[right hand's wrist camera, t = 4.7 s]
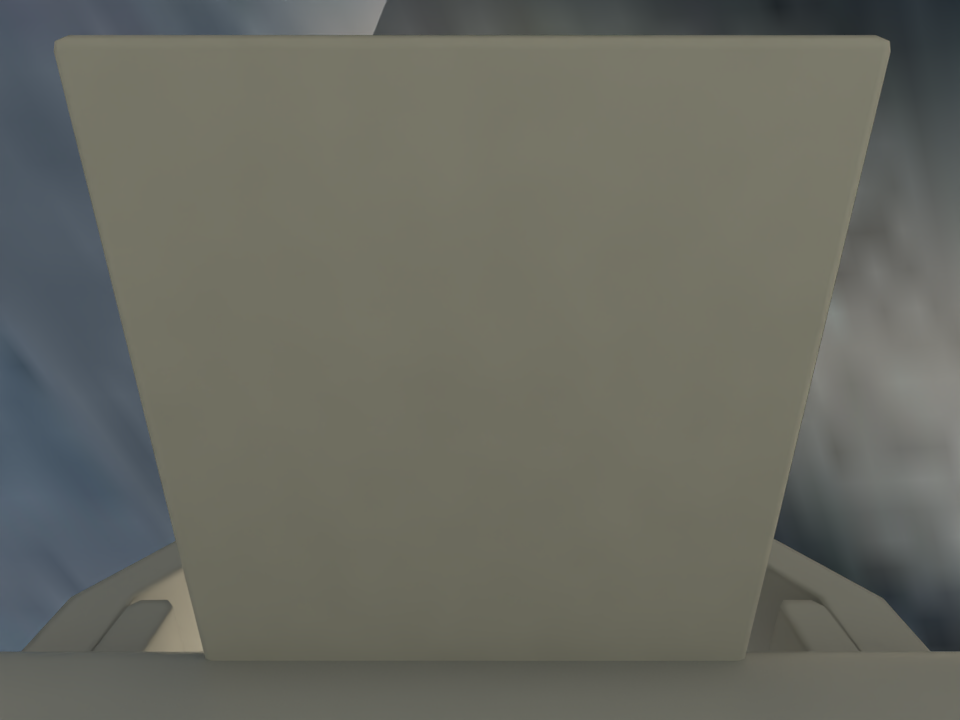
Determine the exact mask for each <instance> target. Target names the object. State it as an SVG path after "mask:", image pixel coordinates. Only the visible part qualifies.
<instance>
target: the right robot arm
mask: <svg viewBox="0 0 960 720" xmlns="http://www.w3.org/2000/svg"><path fill="white" fill-rule="evenodd" d="M0 720H960V652H931V651H930V650H929V649H928V648H927V647H926V646H925V645H924V644H923V643H922V641H921V640H920V639H919V638H918V637H917V636H916V635H915V634H914V632H913V631H912V630H911V629H910V628H909V627H908V626H907V625H906V623H905V622H904V621H903V620H902V619H901V618H900V617H899V616H898V615H897V613H896V612H895V611H894V610H893V609H892V608H891V607H890V606H889V604H888V603H887V602H886V601H885V600H884V599H883V598H881V597H880V596H878V595H876V594H874V593H872V592H870V591H869V590H867V589H865V588H863V587H861V586H859V585H858V584H856V583H854V582H852V581H850V580H848V579H847V578H845V577H843V576H841V575H839V574H837V573H836V572H834V571H832V570H830V569H828V568H826V567H825V566H823V565H821V564H819V563H817V562H815V561H814V560H812V559H810V558H808V557H806V556H804V555H803V554H801V553H799V552H797V551H795V550H793V549H792V548H790V547H788V546H786V545H784V544H782V543H781V542H779V541H777V540H775V539H773V543H772V547H771V551H770V555H769V560H768V564H767V568H766V572H765V576H764V580H763V585H762V589H761V593H760V597H759V601H758V605H757V610H756V614H755V618H754V622H753V626H752V630H751V634H750V639H749V643H748V647H747V651H746V655H745V659H742V660H740V661H210V660H208V659H205V655H204V651H203V647H202V643H201V639H200V635H199V631H198V627H197V623H196V619H195V615H194V611H193V607H192V603H191V599H190V595H189V591H188V587H187V583H186V579H185V575H184V571H183V567H182V563H181V559H180V555H179V551H178V547H177V543H176V541H175V542H173V543H171V544H169V545H167V546H166V547H164V548H162V549H160V550H158V551H156V552H154V553H152V554H151V555H149V556H147V557H145V558H143V559H141V560H139V561H138V562H136V563H134V564H132V565H130V566H128V567H126V568H125V569H123V570H121V571H119V572H117V573H115V574H113V575H112V576H110V577H108V578H106V579H104V580H102V581H100V582H99V583H97V584H95V585H93V586H91V587H89V588H87V589H86V590H84V591H82V592H80V593H78V594H76V595H74V596H73V597H71V598H70V599H69V600H68V601H67V602H66V603H65V604H64V605H63V606H62V608H61V609H60V610H59V611H58V612H57V613H56V614H55V615H54V616H53V617H52V618H51V620H50V621H49V622H48V623H47V624H46V625H45V626H44V627H43V628H42V629H41V630H40V632H39V633H38V634H37V635H36V636H35V637H34V638H33V639H32V640H31V641H30V642H29V644H28V645H27V646H26V647H25V648H24V649H23V650H22V651H21V652H0Z"/></svg>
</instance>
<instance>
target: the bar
mask: <svg viewBox="0 0 960 720" xmlns="http://www.w3.org/2000/svg"><path fill="white" fill-rule="evenodd" d="M890 52H891V50H890V41H888V40H886V39H883V38H881V37H879V36H877V35H68V36H66V37H64V38H61V39H59V40H57V41H55V46H54V54H55V58H56V62H57V66H58V70H59V74H60V78H61V82H62V86H63V90H64V94H65V98H66V102H67V106H68V110H69V114H70V118H71V122H72V126H73V130H74V134H75V138H76V142H77V146H78V150H79V154H80V158H81V162H82V166H83V170H84V174H85V178H86V182H87V186H88V190H89V194H90V198H91V202H92V206H93V210H94V214H95V218H96V222H97V226H98V230H99V234H100V238H101V242H102V246H103V250H104V254H105V258H106V262H107V266H108V270H109V274H110V278H111V282H112V286H113V290H114V294H115V298H116V302H117V306H118V310H119V314H120V318H121V322H122V326H123V330H124V334H125V338H126V342H127V346H128V350H129V354H130V358H131V362H132V366H133V370H134V374H135V378H136V382H137V387H138V391H139V395H140V399H141V403H142V407H143V411H144V415H145V419H146V423H147V427H148V431H149V435H150V439H151V443H152V447H153V451H154V455H155V459H156V463H157V467H158V471H159V475H160V479H161V483H162V487H163V491H164V495H165V499H166V503H167V507H168V511H169V515H170V519H171V523H172V527H173V531H174V535H175V539H176V543H177V547H178V551H179V555H180V559H181V563H182V567H183V571H184V575H185V579H186V583H187V587H188V591H189V595H190V599H191V603H192V607H193V611H194V615H195V619H196V623H197V627H198V631H199V635H200V639H201V643H202V647H203V651H204V655H205V659H208V660H210V661H740V660H742V659H745V655H746V651H747V647H748V643H749V639H750V634H751V630H752V626H753V622H754V618H755V614H756V610H757V605H758V601H759V597H760V593H761V589H762V585H763V580H764V576H765V572H766V568H767V564H768V560H769V555H770V551H771V547H772V543H773V539H774V535H775V530H776V526H777V522H778V518H779V514H780V510H781V506H782V501H783V497H784V493H785V489H786V485H787V481H788V476H789V472H790V468H791V464H792V460H793V456H794V451H795V447H796V443H797V439H798V435H799V431H800V426H801V422H802V418H803V414H804V410H805V406H806V401H807V397H808V393H809V389H810V385H811V381H812V377H813V372H814V368H815V364H816V360H817V356H818V352H819V347H820V343H821V339H822V335H823V331H824V327H825V322H826V318H827V314H828V310H829V306H830V302H831V297H832V293H833V289H834V285H835V281H836V277H837V273H838V268H839V264H840V260H841V256H842V252H843V248H844V243H845V239H846V235H847V231H848V227H849V223H850V218H851V214H852V210H853V206H854V202H855V198H856V193H857V189H858V185H859V181H860V177H861V173H862V168H863V164H864V160H865V156H866V152H867V148H868V144H869V139H870V135H871V131H872V127H873V123H874V119H875V114H876V110H877V106H878V102H879V98H880V94H881V89H882V85H883V81H884V77H885V73H886V69H887V64H888V60H889V56H890Z"/></svg>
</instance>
